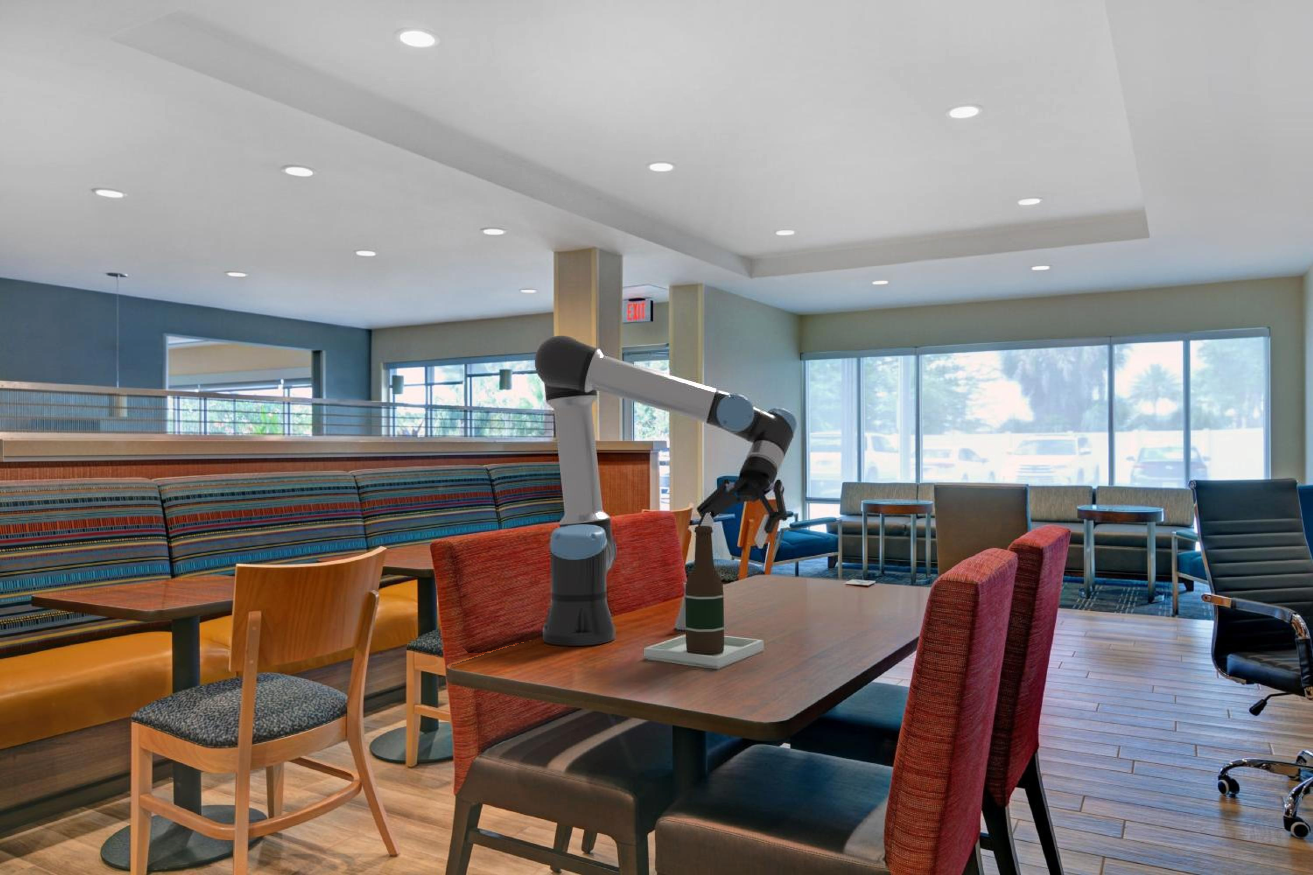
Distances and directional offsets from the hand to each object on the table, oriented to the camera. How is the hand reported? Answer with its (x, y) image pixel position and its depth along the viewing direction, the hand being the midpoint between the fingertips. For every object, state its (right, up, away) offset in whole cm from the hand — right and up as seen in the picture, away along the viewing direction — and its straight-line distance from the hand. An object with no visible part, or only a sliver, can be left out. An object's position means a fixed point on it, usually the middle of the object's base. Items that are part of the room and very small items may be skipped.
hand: (727, 542), depth 180 cm
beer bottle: (-5, -20, -8) cm, 22 cm away
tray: (-5, -20, -8) cm, 23 cm away
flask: (-7, -21, +18) cm, 29 cm away
